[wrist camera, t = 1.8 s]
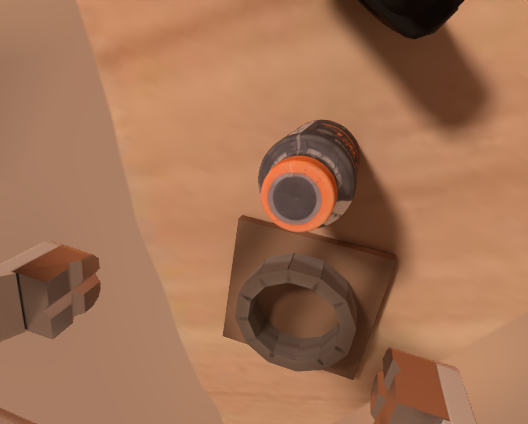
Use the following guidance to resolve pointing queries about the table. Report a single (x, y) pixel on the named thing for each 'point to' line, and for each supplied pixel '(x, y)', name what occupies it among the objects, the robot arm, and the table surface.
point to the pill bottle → (309, 176)
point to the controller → (412, 14)
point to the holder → (304, 297)
